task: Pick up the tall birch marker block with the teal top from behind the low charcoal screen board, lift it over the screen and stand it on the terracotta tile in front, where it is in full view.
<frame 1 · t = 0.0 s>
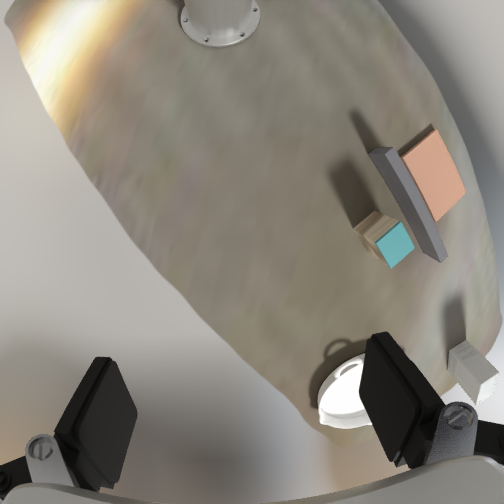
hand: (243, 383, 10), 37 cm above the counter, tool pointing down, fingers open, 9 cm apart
pan: (361, 385, 59), on the counter
marker block: (371, 230, 48), on the counter
terracotta tile: (434, 175, 45), on the counter
skincare box: (455, 354, 59), on the counter
screen board: (403, 203, 46), on the counter
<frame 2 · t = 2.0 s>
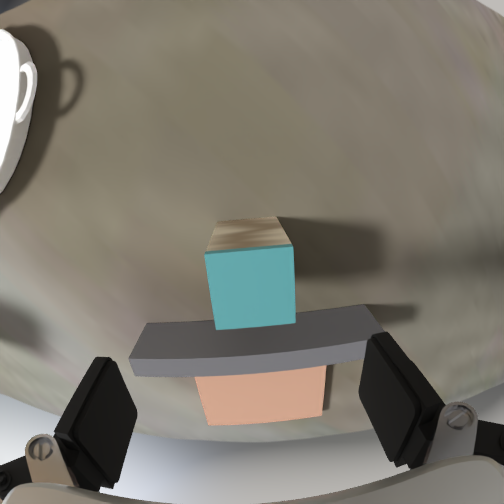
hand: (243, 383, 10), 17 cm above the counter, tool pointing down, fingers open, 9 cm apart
marker block: (249, 247, 26), on the counter
terracotta tile: (262, 390, 31), on the counter
screen board: (256, 325, 28), on the counter
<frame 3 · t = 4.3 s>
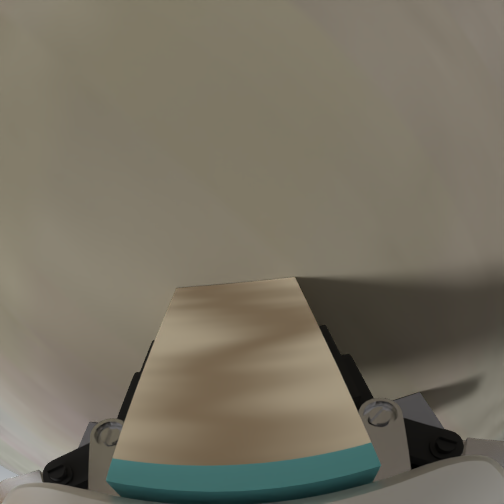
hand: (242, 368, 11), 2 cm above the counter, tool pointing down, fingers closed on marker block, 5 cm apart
marker block: (241, 333, 13), on the counter, touching gripper
screen board: (255, 436, 15), on the counter
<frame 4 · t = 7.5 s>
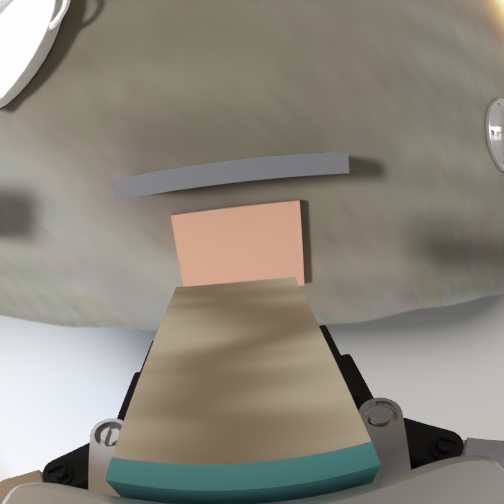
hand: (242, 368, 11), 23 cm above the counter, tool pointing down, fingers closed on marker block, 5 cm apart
pan: (11, 44, 23), on the counter
marker block: (240, 332, 13), point 21 cm above the counter, touching gripper
terracotta tile: (240, 249, 34), on the counter
screen board: (230, 169, 31), on the counter
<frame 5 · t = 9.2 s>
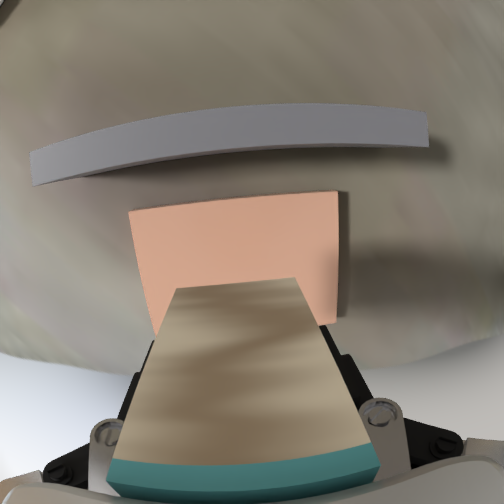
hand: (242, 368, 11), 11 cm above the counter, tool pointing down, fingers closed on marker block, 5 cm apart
marker block: (241, 333, 13), point 8 cm above the counter, touching gripper
terracotta tile: (238, 267, 21), on the counter
screen board: (226, 138, 18), on the counter
when the fingers open (5 cm above the counter, at t = 10.8 s): marker block drops 1 cm, resting on terracotta tile.
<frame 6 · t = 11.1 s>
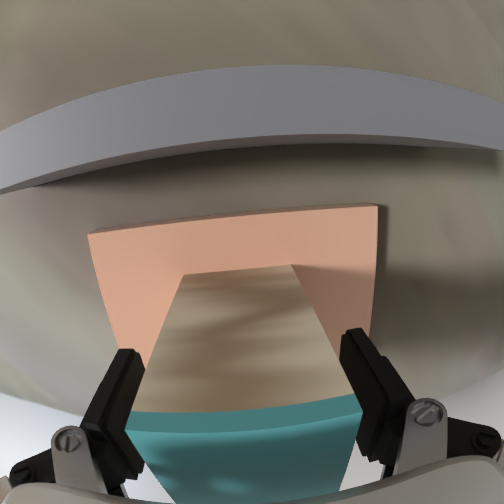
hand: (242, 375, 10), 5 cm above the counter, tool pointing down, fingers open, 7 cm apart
marker block: (242, 316, 14), point 1 cm above the counter, touching terracotta tile
terracotta tile: (239, 308, 15), on the counter
screen board: (221, 128, 13), on the counter
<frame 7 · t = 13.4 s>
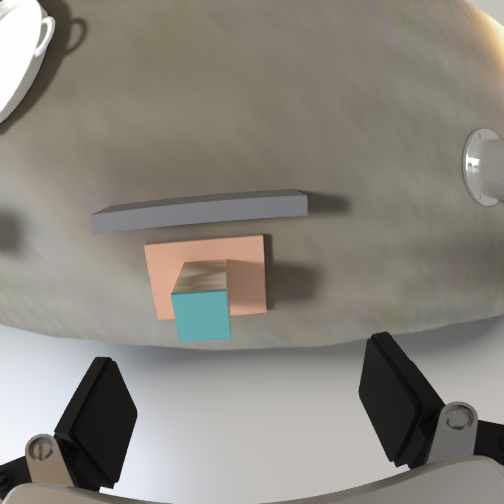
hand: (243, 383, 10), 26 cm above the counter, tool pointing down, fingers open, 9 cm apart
pan: (1, 64, 24), on the counter
marker block: (207, 280, 35), point 1 cm above the counter, touching terracotta tile
terracotta tile: (207, 277, 36), on the counter
screen board: (199, 204, 33), on the counter
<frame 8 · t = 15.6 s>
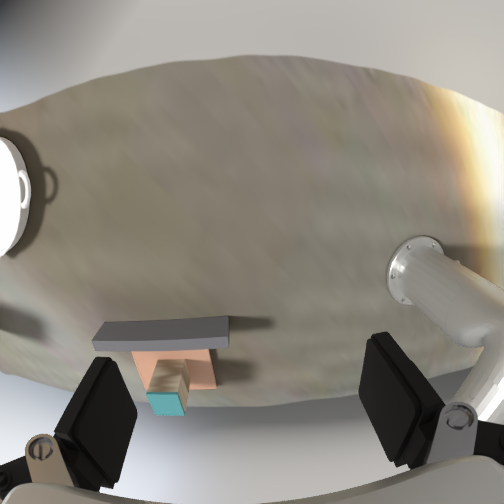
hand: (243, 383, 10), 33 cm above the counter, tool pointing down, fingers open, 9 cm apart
marker block: (174, 370, 48), point 1 cm above the counter, touching terracotta tile
terracotta tile: (174, 366, 49), on the counter
screen board: (163, 325, 46), on the counter
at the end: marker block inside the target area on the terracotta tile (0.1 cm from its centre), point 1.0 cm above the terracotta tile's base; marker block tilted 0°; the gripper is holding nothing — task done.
